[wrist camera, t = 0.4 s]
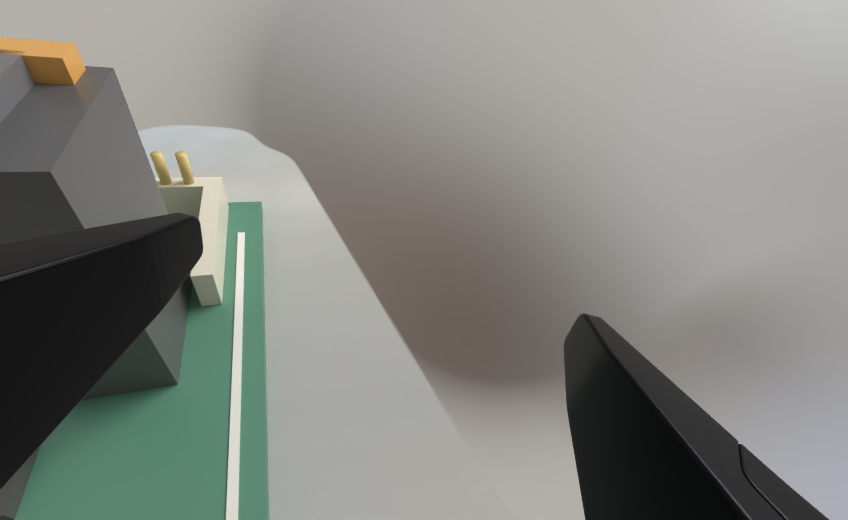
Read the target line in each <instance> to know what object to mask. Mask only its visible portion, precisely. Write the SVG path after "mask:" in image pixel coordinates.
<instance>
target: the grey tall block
mask: <svg viewBox="0 0 848 520" xmlns="http://www.w3.org/2000/svg"><path fill="white" fill-rule="evenodd" d="M166 214H168V211H167V209H166V206H165V203H164V201H163V198H162V195H161V193H160V190H159V187H158V185H157V182H156V179H155V177H154V174H153V172H152V169H151V166H150V164H149V161H148V158H147V156H146V153H145V150H144V148H143V145H142V142H141V140H140V137H139V135H138V132H137V129H136V127H135V124H134V122H133V119H132V116H131V113H130V111H129V108H128V105H127V103H126V100H125V98H124V95H123V92H122V90H121V87H120V85H119V82H118V79H117V77H116V74H115V71H114V69H113V68H104V67H89V66H84V63H83V61H82V59H81V56H80V54H79V52H78V50H77V47H76V45H75V43H64V42H52V41H40V40H28V39H16V38H4V37H0V244H2V243H8V242H13V241H19V240H25V239H30V238H36V237H42V236H47V235H53V234H59V233H64V232H70V231H76V230H81V229H87V228H92V227H98V226H104V225H109V224H115V223H121V222H126V221H132V220H138V219H143V218H149V217H155V216H160V215H166ZM190 275H191V272H190V273H189V275H188V276H187V277H186V279H185V280H184V282H183V283H182V284H181V286H180V287H179V289H178V290H177V291H176V293H175V294H174V295H173V297H172V298H171V300H170V301H169V302H168V303H167V305H166V306H165V307H164V309H163V310H162V311H161V312H160V313H159V314H158V316H157V317H156V318H155V319H154V320H153V321H152V322H151V323H150V325H149V326H148V327H147V328H146V329H145V330H144V331H143V332H142V333H141V335H140V336H139V337H138V338H137V339H136V340H135V341H134V342H133V343H132V345H131V346H130V347H129V348H128V349H127V350H126V351H125V352H124V353H123V354H122V356H121V357H120V358H119V359H118V360H117V361H116V362H115V363H114V364H113V366H112V367H111V368H110V369H109V370H108V371H107V372H106V373H105V374H104V376H103V377H102V378H101V379H100V380H99V381H98V382H97V383H96V384H95V386H94V387H93V388H92V389H91V390H90V391H89V392H88V393H87V394H86V396H85V397H84V398H83V399H82V400H81V401H83V400H89V399H95V398H101V397H107V396H113V395H119V394H125V393H130V392H136V391H142V390H148V389H154V388H160V387H166V386H172V385H178V382H179V374H180V367H181V360H182V353H183V346H184V339H185V331H186V324H187V317H188V310H189V303H190V295H191V288H192V280H191V277H190Z"/></svg>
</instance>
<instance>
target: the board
mask: <svg viewBox="0 0 848 520" xmlns="http://www.w3.org/2000/svg"><path fill="white" fill-rule="evenodd" d="M150 155H151V158H152V161H153V163H154V166H155V169H156V171H157V174H158V177H159V178H155V179H156V182H157V185H158V187H159V190H160V193H161V195H162V198H163V201H164V203H165V206H166V209H167V211H168V214H172V213H184V214H188V215H192V216H195V217H197V218H198V219H199V221H200V224H201V232H202V240H203V253H202V256H201V258H200V259H199V261H198V262H197V264H196V265H195V266H194V268H193V269H192V270H191V275H190V277H191V280H192V288H191V295H190V303H189V310H188V317H187V324H186V331H185V339H184V346H183V353H182V360H181V367H180V374H179V382H178V385H172V386H166V387H160V388H154V389H148V390H142V391H136V392H130V393H125V394H119V395H113V396H107V397H101V398H95V399H89V400H83V401H80V402H79V403H78V404H77V406H76V407H75V408H74V409H73V410H72V411H71V412H70V413H69V414H68V415H67V417H66V418H65V419H64V420H63V421H62V422H61V423H60V424H59V425H58V427H57V428H56V429H55V430H54V431H53V432H52V433H51V434H50V435H49V437H48V438H47V439H46V440H45V441H44V442H43V443H42V444H41V445H40V447H39V448H38V449H37V450H36V451H35V452H34V453H33V454H32V455H31V457H30V458H29V459H28V460H27V461H26V462H25V463H24V464H23V465H22V467H21V468H20V469H19V470H18V471H17V472H16V473H15V474H14V475H13V476H12V478H11V479H10V480H9V481H8V482H7V483H6V484H5V485H4V486H3V488H2V489H1V490H0V520H269V498H268V451H267V404H266V356H265V309H264V262H263V215H262V203H261V202H235V203H228V201H227V197H226V193H225V188H224V184H223V180H222V177H193V175H192V171H191V168H190V165H189V161H188V158H187V154H186V153H185V152H182V151H180V152H177V153H175V156H176V159H177V162H178V166H179V169H180V172H181V175H182V178H170V175H169V172H168V169H167V166H166V164H165V161H164V158H163V155H162V153H161V152H159V151H154V152H152V153H150Z"/></svg>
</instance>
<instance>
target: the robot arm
mask: <svg viewBox="0 0 848 520" xmlns="http://www.w3.org/2000/svg"><path fill="white" fill-rule="evenodd" d="M202 253H203V240H202V232H201V224H200V221H199V219H198V218H197V217H195V216H192V215H188V214H184V213H172V214H166V215H160V216H155V217H149V218H143V219H138V220H132V221H126V222H121V223H115V224H109V225H104V226H98V227H92V228H87V229H81V230H76V231H70V232H64V233H59V234H53V235H47V236H42V237H36V238H30V239H25V240H19V241H13V242H8V243H2V244H0V490H1V489H2V488H3V486H4V485H5V484H6V483H7V482H8V481H9V480H10V479H11V478H12V476H13V475H14V474H15V473H16V472H17V471H18V470H19V469H20V468H21V467H22V465H23V464H24V463H25V462H26V461H27V460H28V459H29V458H30V457H31V455H32V454H33V453H34V452H35V451H36V450H37V449H38V448H39V447H40V445H41V444H42V443H43V442H44V441H45V440H46V439H47V438H48V437H49V435H50V434H51V433H52V432H53V431H54V430H55V429H56V428H57V427H58V425H59V424H60V423H61V422H62V421H63V420H64V419H65V418H66V417H67V415H68V414H69V413H70V412H71V411H72V410H73V409H74V408H75V407H76V406H77V404H78V403H79V402H80V401H81V400H82V399H83V398H84V397H85V396H86V394H87V393H88V392H89V391H90V390H91V389H92V388H93V387H94V386H95V384H96V383H97V382H98V381H99V380H100V379H101V378H102V377H103V376H104V374H105V373H106V372H107V371H108V370H109V369H110V368H111V367H112V366H113V364H114V363H115V362H116V361H117V360H118V359H119V358H120V357H121V356H122V354H123V353H124V352H125V351H126V350H127V349H128V348H129V347H130V346H131V345H132V343H133V342H134V341H135V340H136V339H137V338H138V337H139V336H140V335H141V333H142V332H143V331H144V330H145V329H146V328H147V327H148V326H149V325H150V323H151V322H152V321H153V320H154V319H155V318H156V317H157V316H158V314H159V313H160V312H161V311H162V310H163V309H164V307H165V306H166V305H167V303H168V302H169V301H170V300H171V298H172V297H173V295H174V294H175V293H176V291H177V290H178V289H179V287H180V286H181V284H182V283H183V282H184V280H185V279H186V277H187V276H188V275H189V273H190V272H191V270H192V269H193V268H194V266H195V265H196V264H197V262H198V261H199V259H200V258H201V256H202ZM564 365H565V385H566V402H567V411H568V418H569V424H570V430H571V436H572V442H573V448H574V454H575V460H576V466H577V472H578V478H579V483H580V490H581V496H582V502H583V508H584V514H585V520H829V519H828V518H826V517H825V516H824V515H823V514H822V513H821V512H819V511H818V510H817V509H816V508H814V507H813V506H812V505H811V504H810V503H809V502H807V501H806V500H805V499H804V498H803V497H801V496H800V495H799V494H798V493H797V492H796V491H794V490H793V489H792V488H791V487H790V486H788V485H787V484H786V483H785V482H784V481H783V480H782V479H780V478H779V477H778V476H777V475H776V474H775V473H774V472H773V471H771V470H770V469H769V468H768V467H767V466H766V465H764V464H763V463H762V462H761V461H760V460H759V459H758V458H757V457H756V456H754V455H753V454H752V453H751V452H750V451H749V450H748V449H747V448H746V447H744V446H743V445H742V444H738V441H737V440H736V439H735V438H734V437H733V436H732V435H731V434H730V433H729V432H728V431H726V430H725V429H724V428H723V427H722V426H721V425H720V424H719V423H717V422H716V421H715V420H714V419H713V418H712V417H711V416H710V415H709V414H707V413H706V412H705V411H704V410H703V409H702V408H701V407H700V406H699V405H697V404H696V403H695V402H694V401H693V400H692V399H691V398H690V397H689V396H687V395H686V394H685V393H684V392H683V391H682V390H680V388H678V387H677V386H676V385H675V384H674V383H673V382H672V381H671V380H670V379H668V378H667V377H666V376H665V375H664V374H663V373H662V372H661V371H659V370H658V369H657V368H656V367H655V366H654V365H653V364H652V363H650V361H648V360H647V359H646V358H645V357H644V356H643V355H642V354H640V353H639V352H638V351H637V350H636V349H635V348H634V347H633V346H632V345H630V344H629V343H628V342H627V341H626V340H625V339H624V338H623V337H622V336H621V335H619V334H618V333H617V332H616V331H615V330H614V329H613V328H612V327H610V326H609V325H608V324H607V323H606V322H605V321H604V320H602V318H600V317H598V316H593V315H589V314H585V313H584V314H581V315H580V316H579V317H578V318H577V320H576V321H575V323H574V325H573V326H572V328H571V330H570V332H569V333H568V335H567V337H566V339H565V342H564Z"/></svg>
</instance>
